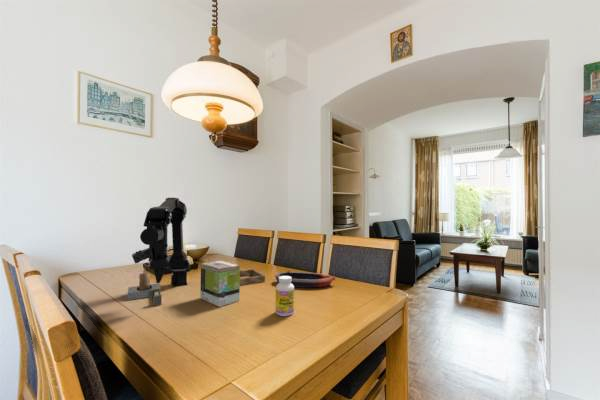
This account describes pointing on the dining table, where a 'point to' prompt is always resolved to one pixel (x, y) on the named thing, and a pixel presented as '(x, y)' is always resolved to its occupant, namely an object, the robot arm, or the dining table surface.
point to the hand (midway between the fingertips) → (158, 282)
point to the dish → (307, 279)
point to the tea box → (220, 282)
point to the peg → (144, 281)
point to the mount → (142, 292)
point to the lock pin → (157, 298)
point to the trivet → (250, 280)
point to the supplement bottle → (285, 296)
